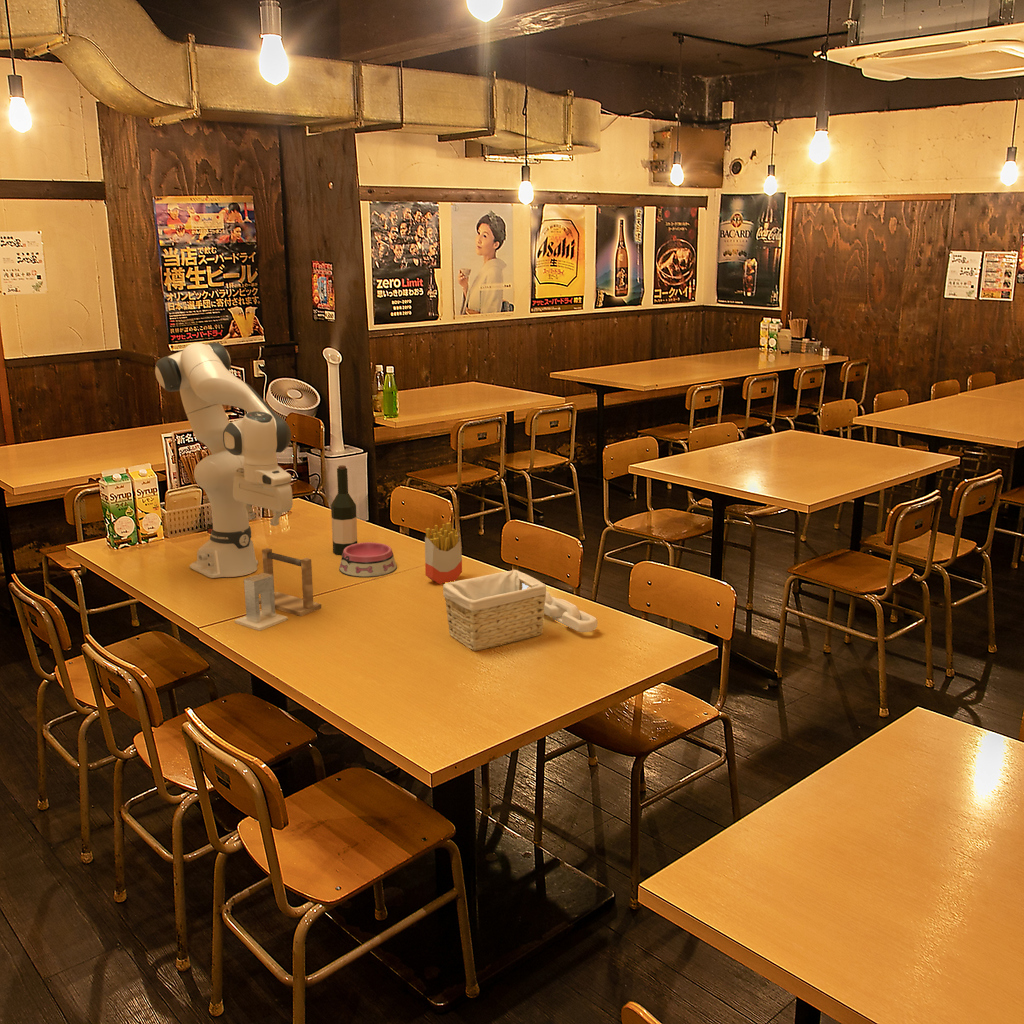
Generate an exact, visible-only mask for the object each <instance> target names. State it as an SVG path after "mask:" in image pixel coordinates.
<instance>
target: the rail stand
mask: <svg viewBox="0 0 1024 1024" xmlns="http://www.w3.org/2000/svg"><path fill="white" fill-rule="evenodd" d="M261 557H262V558H261V559H262V573H266V574H270V575H273V581H274V582H275V577H274V564H273V562H274V560H275V561H277V562H278V561H279V562H282V563H287V564H290V565H294V566H298V567H300V568H301V584H302V585H301V587H302V598H300V597H298V596H294V595H291V594H290V595H289V594H286V593H284V592H280V591H276V592H275V591H274V598H275V610H279V611H282V612H285V613H288V614H292V615H296V616H298V617H302V616H305V615H308V614H310V613H313V612H315V611H318V610H321V609H322V603H318V602H316V601H315V602H314V591H313V590H314V586H313V569H312V567H313V566H312V559H311V558H308V557H306V558H302V559H300V558H295V557H290V556H287V555H284V554H279V553H276V552H273V549H272V548H268V547H266V548H262V549H261ZM259 605H261V597H259Z"/></svg>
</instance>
